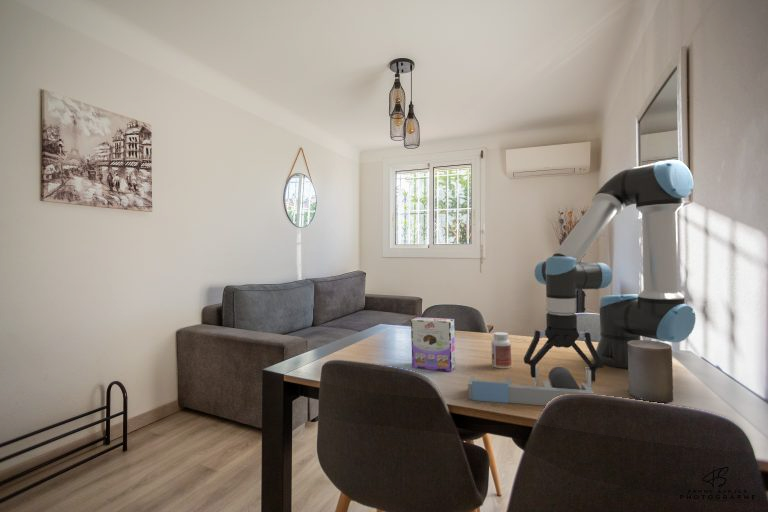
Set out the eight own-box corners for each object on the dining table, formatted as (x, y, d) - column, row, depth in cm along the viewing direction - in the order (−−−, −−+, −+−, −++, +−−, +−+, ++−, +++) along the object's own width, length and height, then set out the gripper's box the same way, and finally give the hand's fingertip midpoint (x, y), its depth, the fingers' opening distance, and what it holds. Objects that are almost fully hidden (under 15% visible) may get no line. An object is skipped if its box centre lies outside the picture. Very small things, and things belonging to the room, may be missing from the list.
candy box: (455, 367, 127) (455, 318, 127) (451, 372, 122) (450, 321, 122) (417, 362, 133) (416, 316, 133) (411, 367, 128) (410, 319, 128)
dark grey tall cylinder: (548, 386, 108) (548, 365, 108) (571, 388, 106) (571, 367, 106) (555, 403, 97) (555, 379, 96) (581, 405, 95) (581, 381, 95)
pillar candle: (679, 396, 99) (677, 339, 99) (664, 406, 93) (663, 345, 93) (637, 386, 107) (636, 333, 107) (621, 394, 101) (620, 338, 101)
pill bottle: (515, 366, 126) (514, 333, 126) (502, 370, 123) (502, 336, 123) (500, 362, 132) (499, 330, 132) (488, 365, 128) (487, 333, 128)
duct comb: (588, 398, 99) (587, 379, 98) (595, 410, 91) (595, 389, 91) (470, 389, 107) (469, 371, 107) (468, 399, 100) (468, 380, 100)
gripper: (607, 311, 104) (608, 389, 104) (513, 309, 111) (514, 382, 111) (616, 316, 97) (617, 400, 97) (514, 313, 103) (515, 392, 104)
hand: (562, 391), depth 104 cm, fingers open, 12 cm apart
